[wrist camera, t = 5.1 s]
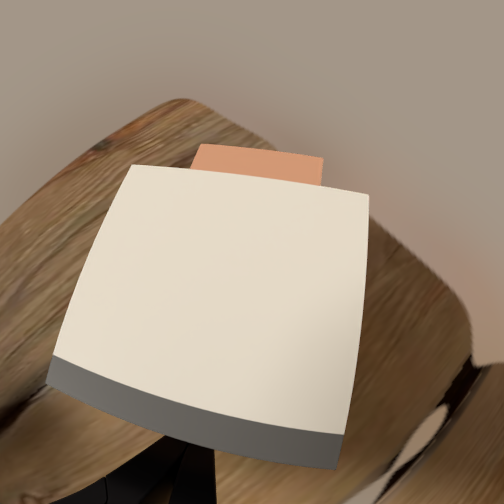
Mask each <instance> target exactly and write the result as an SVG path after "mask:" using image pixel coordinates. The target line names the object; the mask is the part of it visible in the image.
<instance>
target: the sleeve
mask: <svg viewBox="0 0 504 504" xmlns="http://www.w3.org/2000/svg"><path fill="white" fill-rule="evenodd" d="M368 221H369V195H367V194H362V193H357V192H351V191H346V190H340V189H335V188H329V187H323V186H317V185H311V184H304V183H298V182H291V181H285V180H278V179H270V178H263V177H255V176H248V175H240V174H231V173H222V172H213V171H204V170H193V169H183V168H171V167H159V166H145V165H132V166H131V168H130V170H129V171H128V173H127V175H126V177H125V179H124V181H123V183H122V185H121V187H120V189H119V191H118V193H117V195H116V196H115V198H114V201H113V203H112V205H111V207H110V209H109V211H108V213H107V215H106V217H105V219H104V221H103V223H102V226H101V228H100V230H99V232H98V234H97V237H96V239H95V241H94V243H93V246H92V248H91V250H90V253H89V255H88V257H87V260H86V262H85V265H84V267H83V270H82V272H81V275H80V277H79V280H78V282H77V285H76V288H75V290H74V293H73V296H72V298H71V301H70V304H69V307H68V309H67V312H66V315H65V318H64V321H63V324H62V327H61V330H60V333H59V336H58V340H57V343H56V346H55V350H54V353H53V356H52V360H51V363H50V367H49V371H48V374H47V378H46V382H45V383H46V384H48V385H50V386H51V387H53V388H55V389H57V390H59V391H61V392H63V393H65V394H67V395H69V396H71V397H73V398H75V399H77V400H79V401H81V402H83V403H86V404H88V405H90V406H92V407H94V408H97V409H99V410H101V411H103V412H106V413H108V414H110V415H113V416H115V417H118V418H120V419H123V420H125V421H128V422H130V423H133V424H135V425H138V426H141V427H144V428H146V429H149V430H152V431H155V432H158V433H161V434H164V435H167V436H170V437H173V438H176V439H179V440H183V441H186V442H189V443H193V444H196V445H200V446H203V447H207V448H211V449H215V450H219V451H223V452H227V453H231V454H236V455H240V456H245V457H249V458H254V459H260V460H265V461H271V462H276V463H283V464H289V465H296V466H303V467H312V468H321V469H331V470H336V468H337V463H338V459H339V455H340V451H341V446H342V441H343V437H344V432H345V427H346V422H347V417H348V412H349V406H350V401H351V395H352V389H353V383H354V377H355V370H356V363H357V356H358V349H359V341H360V333H361V324H362V315H363V304H364V293H365V281H366V266H367V248H368Z"/></svg>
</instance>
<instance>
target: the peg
mask: <svg viewBox="0 0 504 504" xmlns="http://www.w3.org/2000/svg"><path fill="white" fill-rule="evenodd" d="M322 166H323V158H319V157H313V156H306V155H299V154H293V153H285V152H278V151H270V150H262V149H253V148H244V147H234V146H223V145H211V144H201V145H200V147H199V149H198V152H197V154H196V156H195V158H194V161H193V163H192V165H191V167H190V169H193V170H204V171H213V172H222V173H231V174H240V175H248V176H255V177H263V178H270V179H278V180H285V181H291V182H298V183H304V184H311V185H317V186H320V184H321V175H322Z"/></svg>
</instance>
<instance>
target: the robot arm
mask: <svg viewBox="0 0 504 504" xmlns="http://www.w3.org/2000/svg"><path fill="white" fill-rule="evenodd" d="M49 504H217V498H216V478H215V455H214V449H211V448H207V447H203V446H200V445H196V444H193V443H189V442H186V441H183V440H179V439H176V438H173V437H170V436H167V435H165V436H163V437H162V438H161V439H159V440H158V441H156V442H155V443H153V444H152V445H151V446H149V447H148V448H146V449H145V450H143V451H142V452H141V453H139V454H138V455H136V456H135V457H133V458H132V459H130V460H129V461H127V462H126V463H124V464H123V465H121V466H120V467H118V468H117V469H115V470H114V471H112V472H111V473H109V474H107V475H106V478H105V477H102V478H101V479H99V480H98V481H96V482H95V483H93V484H91V485H89V486H87V487H86V488H84V489H82V490H80V491H78V492H76V493H74V494H71V495H69V496H67V497H64V498H62V499H59V500H57V501H54V502H52V503H49Z"/></svg>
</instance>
